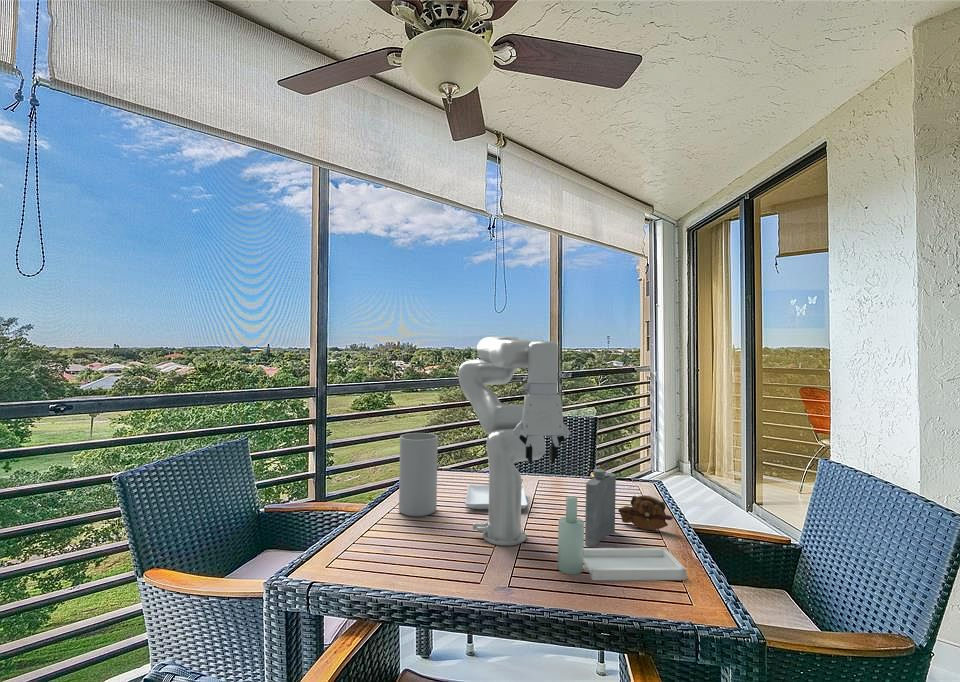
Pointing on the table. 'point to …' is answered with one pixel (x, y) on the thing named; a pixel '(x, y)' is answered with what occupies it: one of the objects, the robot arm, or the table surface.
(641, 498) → the wooden carving
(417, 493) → the cylinder vase
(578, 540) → the bottle
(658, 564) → the white rectangular tray
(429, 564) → the table surface
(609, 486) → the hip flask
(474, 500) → the salad plate
